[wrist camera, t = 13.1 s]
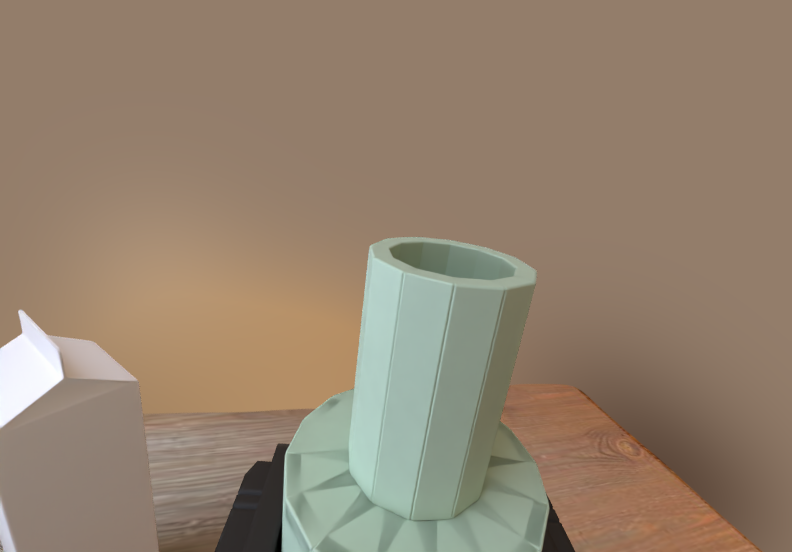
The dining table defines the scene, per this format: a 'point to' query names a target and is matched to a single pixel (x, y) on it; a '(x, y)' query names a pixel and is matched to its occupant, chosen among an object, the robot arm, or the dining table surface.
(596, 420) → the dining table surface
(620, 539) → the dining table surface
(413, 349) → the bottle
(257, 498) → the robot arm
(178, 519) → the dining table surface
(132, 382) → the milk
